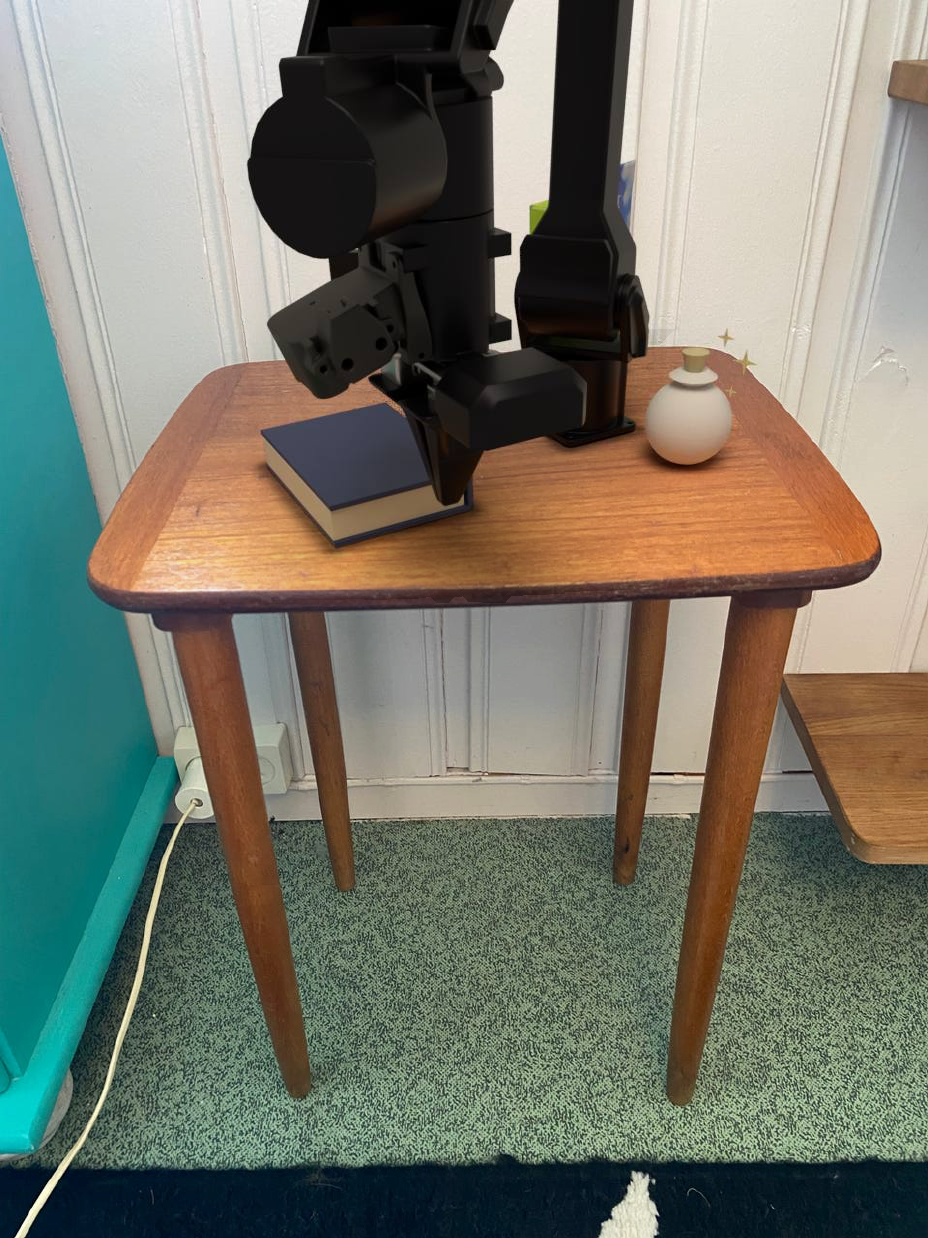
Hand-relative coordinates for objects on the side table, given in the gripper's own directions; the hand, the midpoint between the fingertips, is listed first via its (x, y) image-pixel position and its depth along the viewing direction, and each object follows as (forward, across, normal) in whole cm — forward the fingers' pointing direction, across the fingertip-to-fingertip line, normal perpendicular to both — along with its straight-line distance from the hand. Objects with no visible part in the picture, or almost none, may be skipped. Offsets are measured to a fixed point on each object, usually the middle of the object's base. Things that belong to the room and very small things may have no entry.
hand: (448, 502), depth 52 cm
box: (+5, -22, +24) cm, 33 cm away
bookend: (+5, -38, +13) cm, 41 cm away
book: (+5, -13, 0) cm, 14 cm away
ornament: (+5, -4, +22) cm, 23 cm away
